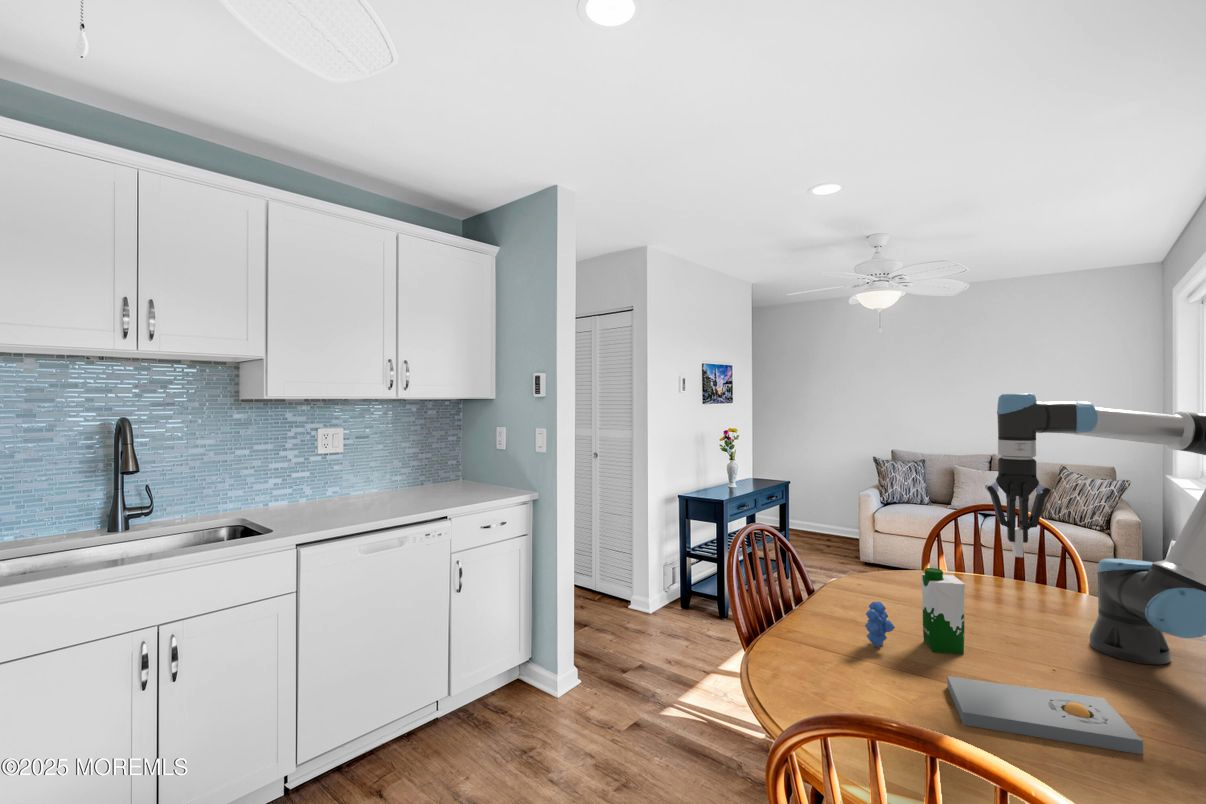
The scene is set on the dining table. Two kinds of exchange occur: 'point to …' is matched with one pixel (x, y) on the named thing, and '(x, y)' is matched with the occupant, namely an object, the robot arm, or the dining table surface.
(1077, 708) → the ball
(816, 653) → the dining table surface
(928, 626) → the milk carton
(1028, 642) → the dining table surface
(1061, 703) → the plate
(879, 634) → the grapes
